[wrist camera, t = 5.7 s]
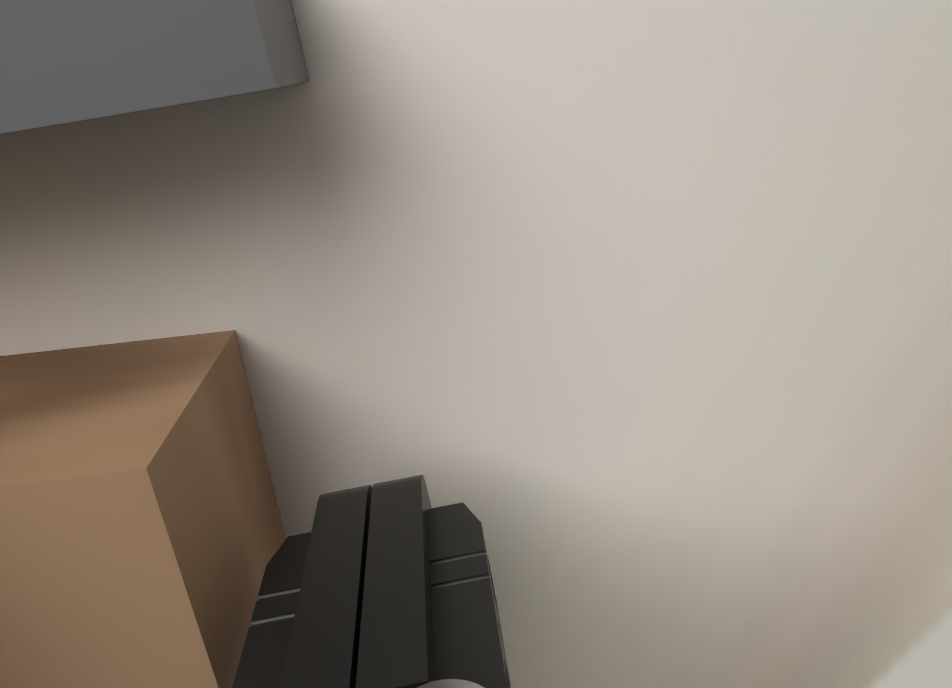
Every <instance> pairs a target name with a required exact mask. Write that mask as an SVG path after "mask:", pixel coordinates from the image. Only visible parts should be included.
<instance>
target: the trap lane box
mask: <svg viewBox="0 0 952 688" xmlns="http://www.w3.org/2000/svg"><path fill="white" fill-rule="evenodd" d="M307 81H309V77H308V73H307V69H306V64H305V60H304V56H303V52H302V47H301V43H300V39H299V35H298V30H297V26H296V22H295V18H294V13H293V9H292V5H291V1H290V0H0V134H3V133H9V132H15V131H21V130H27V129H33V128H39V127H45V126H51V125H57V124H63V123H69V122H75V121H81V120H87V119H93V118H99V117H105V116H111V115H117V114H123V113H129V112H135V111H141V110H147V109H153V108H159V107H165V106H171V105H177V104H183V103H189V102H195V101H201V100H207V99H214V98H220V97H226V96H232V95H238V94H244V93H250V92H256V91H262V90H268V89H274V88H279V87H284V86H288V85H293V84H298V83H302V82H307Z"/></svg>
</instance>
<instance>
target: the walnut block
mask: <svg viewBox="0 0 952 688" xmlns="http://www.w3.org/2000/svg"><path fill="white" fill-rule="evenodd" d="M285 540H286V537H285V533H284V529H283V525H282V521H281V517H280V513H279V509H278V505H277V501H276V497H275V492H274V488H273V484H272V480H271V476H270V472H269V468H268V464H267V460H266V456H265V452H264V448H263V443H262V439H261V435H260V431H259V427H258V423H257V419H256V415H255V411H254V407H253V403H252V399H251V394H250V390H249V386H248V382H247V378H246V374H245V370H244V366H243V362H242V358H241V354H240V349H239V345H238V341H237V337H236V333H235V330H233V331H224V332H215V333H206V334H197V335H188V336H179V337H170V338H161V339H152V340H143V341H134V342H125V343H116V344H107V345H98V346H89V347H80V348H71V349H62V350H53V351H44V352H35V353H26V354H17V355H8V356H0V688H232V686H233V682H234V679H235V675H236V671H237V668H238V664H239V661H240V657H241V654H242V650H243V647H244V643H245V639H246V636H247V632H248V629H249V627H251V625H252V624H251V618H252V615H253V611H254V607H255V604H256V601H259V597H258V593H259V590H260V586H261V583H262V579H263V576H264V572H265V568H266V565H267V564H268V562H269V561H270V560H271V558H272V557H273V556H274V554H275V553H276V552H277V551H278V549H279V548H280V547H281V545H282V544H283V543H284V541H285Z"/></svg>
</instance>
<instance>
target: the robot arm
mask: <svg viewBox="0 0 952 688" xmlns="http://www.w3.org/2000/svg"><path fill="white" fill-rule="evenodd" d="M258 597H259V601H256V604H255V607H254V611H253V615H252V618H251V624H252V625H251V627H249V629H248V632H247V636H246V639H245V643H244V647H243V650H242V654H241V657H240V661H239V664H238V668H237V671H236V675H235V679H234V682H233V686H232V688H511V685H510V678H509V672H508V666H507V661H506V654H505V648H504V642H503V637H502V630H501V624H500V618H499V612H498V606H497V601H496V596H495V591H494V586H493V581H492V575H491V570H490V565H489V560H488V555H487V550H486V545H485V540H484V535H483V530H482V525H481V522H480V521H479V520H478V519H477V518H476V517H475V515H474V514H473V513H472V512H471V511H470V510H469V509H468V508H467V506H466V505H465V504H464V503H458V504H453V505H448V506H443V507H437V508H431V504H430V499H429V495H428V491H427V487H426V483H425V480H424V477H423V475H419V476H414V477H409V478H403V479H398V480H393V481H388V482H383V483H378V484H374V485H373V487H372V486H371V485H368V486H363V487H358V488H353V489H347V490H342V491H337V492H332V493H327V494H322V495H320V497H319V499H318V503H317V508H316V513H315V518H314V523H313V528H312V532H310V533H305V534H300V535H294V536H289V537H288V538H287V539H286V540H285V541H284V543H283V544H282V545H281V547H280V548H279V549H278V551H277V552H276V553H275V554H274V556H273V557H272V558H271V560H270V561H269V562H268V564H267V565H266V568H265V572H264V576H263V579H262V583H261V586H260V590H259V593H258Z"/></svg>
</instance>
